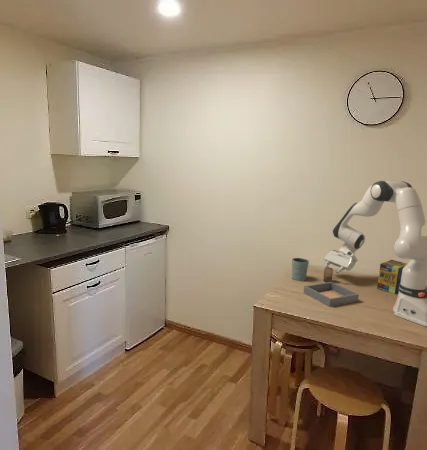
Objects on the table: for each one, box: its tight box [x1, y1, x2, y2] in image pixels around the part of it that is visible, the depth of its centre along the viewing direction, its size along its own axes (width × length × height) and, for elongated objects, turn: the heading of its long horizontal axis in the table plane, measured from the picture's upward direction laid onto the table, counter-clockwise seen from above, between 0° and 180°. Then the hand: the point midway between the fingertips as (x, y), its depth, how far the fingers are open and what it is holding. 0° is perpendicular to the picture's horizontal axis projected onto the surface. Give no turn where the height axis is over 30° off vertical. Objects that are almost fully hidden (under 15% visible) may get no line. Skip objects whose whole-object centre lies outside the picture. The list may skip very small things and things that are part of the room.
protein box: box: [376, 259, 408, 295], centre depth 214 cm, size 10×15×16 cm
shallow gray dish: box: [303, 282, 360, 307], centre depth 198 cm, size 20×20×4 cm
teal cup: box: [291, 257, 310, 282], centre depth 225 cm, size 10×10×12 cm
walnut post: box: [322, 267, 334, 283], centre depth 222 cm, size 5×5×8 cm
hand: (331, 270), depth 223 cm, fingers open, 8 cm apart
